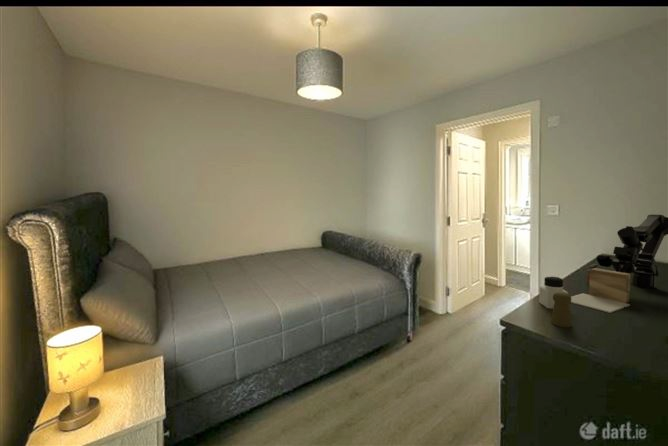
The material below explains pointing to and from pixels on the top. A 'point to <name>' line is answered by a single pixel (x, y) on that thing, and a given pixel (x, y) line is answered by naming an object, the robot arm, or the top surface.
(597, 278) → the letter block
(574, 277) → the top surface
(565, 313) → the wooden pepper mill
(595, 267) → the lighter
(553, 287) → the medicine bottle
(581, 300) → the felt mat
